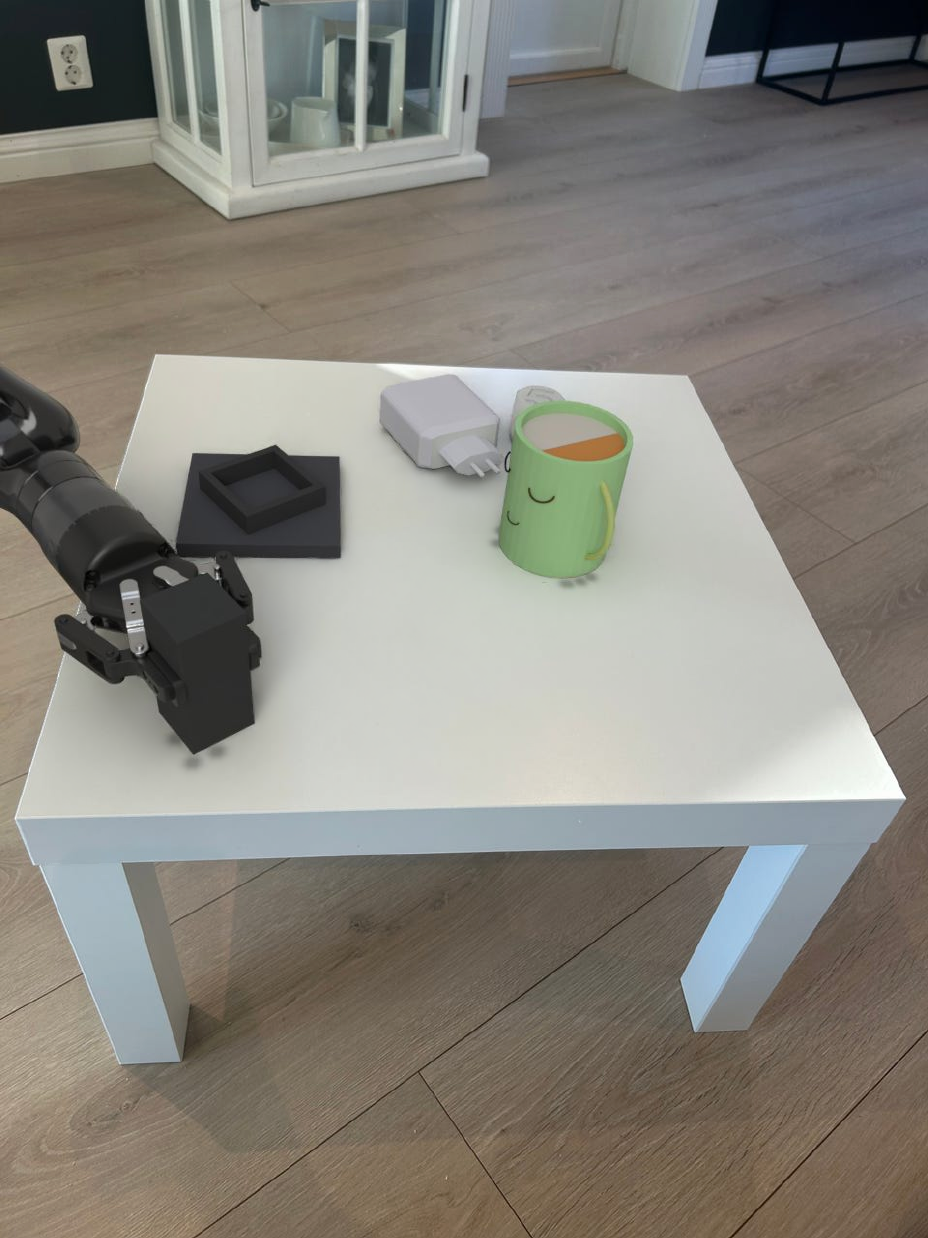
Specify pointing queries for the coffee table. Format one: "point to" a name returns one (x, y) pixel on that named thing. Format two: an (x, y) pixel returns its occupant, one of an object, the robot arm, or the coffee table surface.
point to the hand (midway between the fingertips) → (218, 677)
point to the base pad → (261, 506)
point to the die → (531, 401)
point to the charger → (442, 424)
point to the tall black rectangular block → (202, 659)
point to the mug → (563, 487)
